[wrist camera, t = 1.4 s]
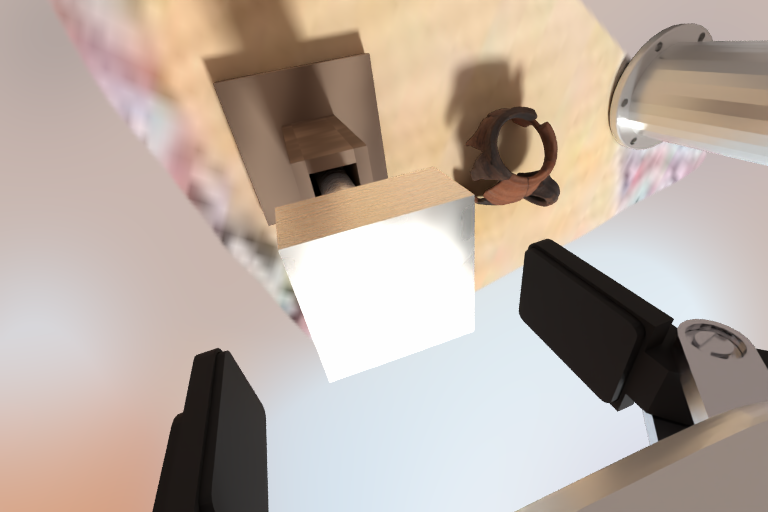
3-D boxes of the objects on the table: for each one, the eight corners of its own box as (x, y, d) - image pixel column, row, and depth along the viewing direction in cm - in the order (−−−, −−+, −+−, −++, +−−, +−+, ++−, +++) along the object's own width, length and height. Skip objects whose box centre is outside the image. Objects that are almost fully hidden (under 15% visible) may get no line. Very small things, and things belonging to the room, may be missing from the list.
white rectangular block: (359, 114, 22) (474, 194, 10) (374, 196, 26) (474, 330, 14) (269, 135, 21) (278, 250, 9) (296, 217, 25) (329, 382, 13)
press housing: (364, 53, 28) (423, 56, 18) (385, 188, 34) (436, 246, 24) (215, 81, 26) (184, 103, 16) (268, 219, 32) (271, 297, 22)
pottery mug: (429, 188, 37) (467, 169, 29) (459, 112, 38) (505, 74, 30) (515, 233, 40) (572, 228, 32) (542, 162, 41) (603, 139, 33)
